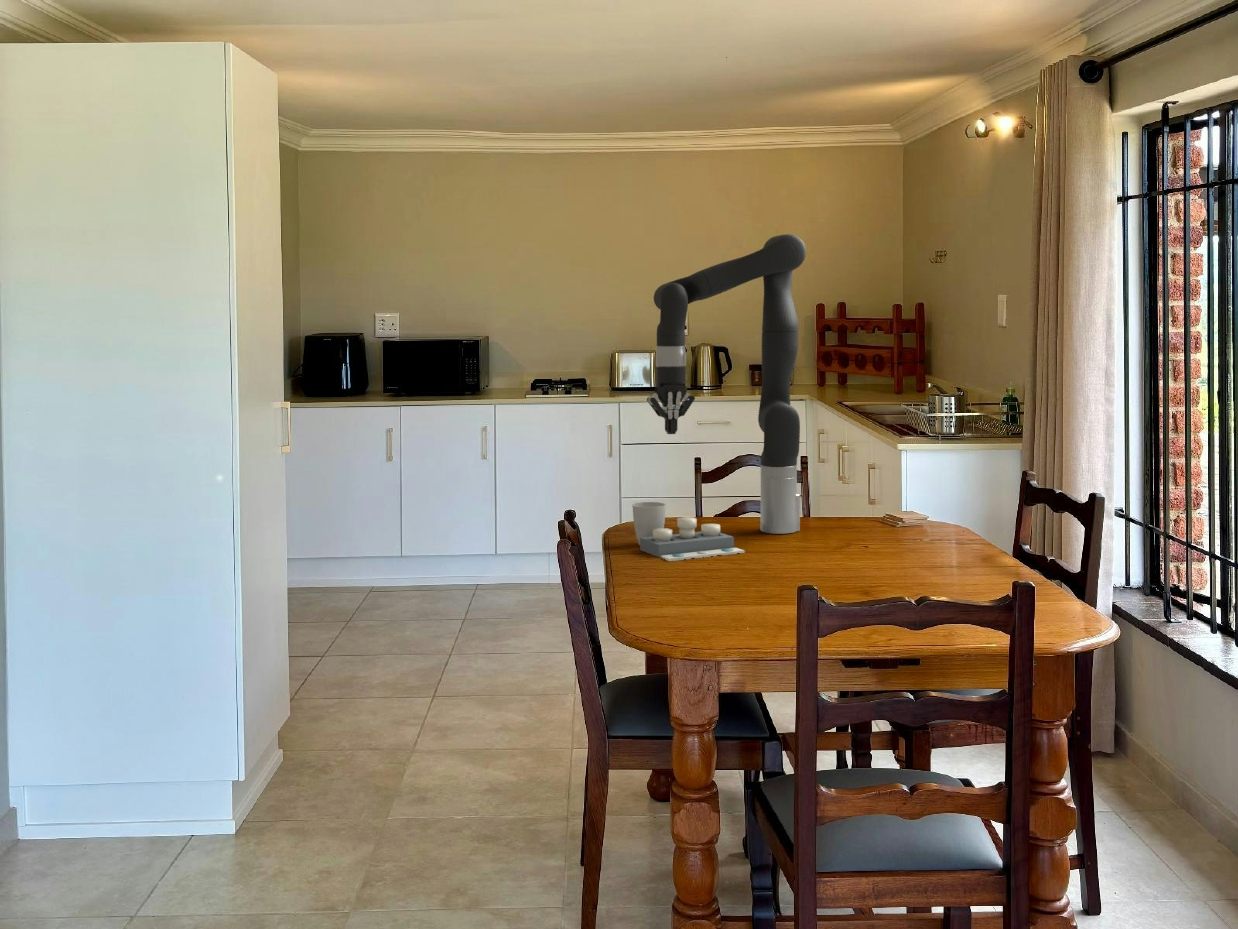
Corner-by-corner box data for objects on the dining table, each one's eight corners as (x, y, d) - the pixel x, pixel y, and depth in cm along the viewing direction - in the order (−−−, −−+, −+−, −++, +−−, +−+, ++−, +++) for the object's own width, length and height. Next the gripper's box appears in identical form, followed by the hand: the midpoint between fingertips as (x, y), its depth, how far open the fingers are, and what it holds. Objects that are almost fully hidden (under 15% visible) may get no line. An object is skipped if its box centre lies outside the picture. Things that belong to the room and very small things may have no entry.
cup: (666, 541, 292) (666, 501, 291) (664, 548, 284) (664, 507, 283) (634, 541, 293) (633, 501, 291) (631, 547, 285) (630, 507, 283)
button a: (714, 541, 287) (714, 523, 287) (723, 544, 283) (723, 526, 282) (697, 543, 285) (697, 524, 285) (707, 546, 281) (707, 527, 281)
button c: (667, 546, 282) (666, 527, 281) (675, 549, 278) (675, 530, 277) (649, 548, 280) (649, 529, 279) (658, 551, 276) (658, 532, 275)
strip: (735, 550, 280) (735, 546, 280) (744, 553, 277) (744, 549, 277) (661, 558, 272) (660, 554, 272) (668, 561, 268) (668, 557, 268)
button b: (690, 535, 284) (690, 516, 284) (700, 538, 280) (699, 519, 280) (674, 536, 282) (673, 518, 282) (682, 540, 278) (682, 521, 278)
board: (713, 542, 290) (713, 530, 290) (733, 549, 281) (733, 537, 281) (640, 549, 282) (640, 537, 282) (659, 557, 273) (658, 544, 273)
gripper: (686, 363, 298) (686, 431, 300) (640, 364, 292) (640, 433, 295) (701, 364, 291) (701, 433, 294) (654, 365, 286) (654, 436, 288)
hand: (671, 433), depth 294 cm, fingers closed
